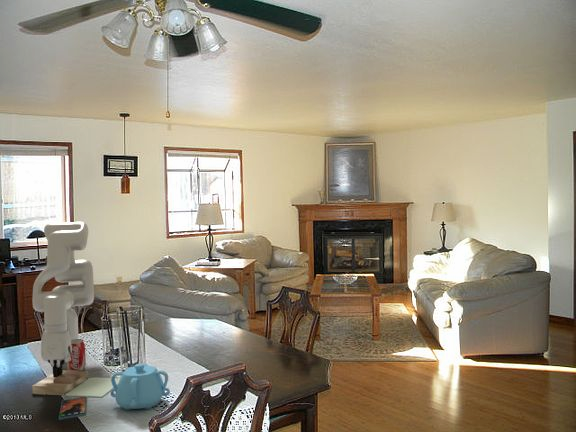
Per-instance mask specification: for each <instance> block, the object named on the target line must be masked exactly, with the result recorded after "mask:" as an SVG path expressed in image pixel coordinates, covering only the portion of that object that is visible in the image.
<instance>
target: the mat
mask: <svg viewBox="0 0 576 432" xmlns="http://www.w3.org/2000/svg"><path fill="white" fill-rule="evenodd" d="M111 378H112V377H89V378H88V379H87V380H85V381H84V382H82V383H81V384H79V385H78V386H76V387H75V388H73V389H72V390H70V391H69V392H67V393H66V394H65V395H64V396H66V397H77V398H80V397H87V398H104V396H107V394H109V393H111V391H112V390H113V389H114V388H113V385H112V382H111ZM119 381H120V378H116V377H115V382H116V385H117V386H118V383H119Z"/></svg>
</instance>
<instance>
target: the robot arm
mask: <svg viewBox="0 0 576 432" xmlns="http://www.w3.org/2000/svg"><path fill="white" fill-rule="evenodd" d="M43 234H44V236H45V238H46V240H47V250H46V251H47V252H46V253H47V254H46V267H45V268H44V269H43V270H42V271H41V272H40V273H39V274H38V275H37V277H36V279H35V280H34V283H33V287H32V309H34V311H36V312H38V313H40V312H41V313H42V312H43V313H44V314H43V315H44V318H43V319H44V324H42V325H41V327H42V329H44V331H42V336H41V342H40V357H41V358H42V360H43V361H44V362H47V363H48V364H49V365H50V367H51V368H52V374H53V377H54V378H56V377H58V376H60V375H61V374H62V373H63V370H64V369H63V365H64V364H65V363H67V362H69V361H71V354H72V347H71V340H73V339H79V322H78V321H79V318H78V317H79V316H78V314H77V312H76V311H75V310H74V309H73V307H82V306H89V305H92V304H93V302H94V300H95V289H94V288H95V284H94V269H93V268H94V267H93V264H92V262H91V261H90V260H88V259H77V260H76V259H75V251H83V250H85V249H86V247H87V244H88V237H89V227H88V225H87V224H86V222H83V221H74V222H70V221H67V222H66V221H65V222H63V221H62V222H51V223H47V224H46V225H45V226H44V227H43ZM52 279H54V280H55V282H57V283H74V282H77V283H78V282H81V284H64V285H58V286H55V287H54V288H53V289H52V290H51V291H42V288H43V286H44V285H45V284H46V283H47V282H49V280H52Z"/></svg>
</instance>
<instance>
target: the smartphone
mask: <svg viewBox="0 0 576 432" xmlns="http://www.w3.org/2000/svg"><path fill="white" fill-rule="evenodd" d="M87 402H88V397H74V398H66V399H62V400H61V403H60V408H59V409H60V410H59V415H58V420H59V421H61V420H67V419H71V418H78V417H80V418H81V417H86V416H87V407H88V406H87V404H88V403H87Z"/></svg>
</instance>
